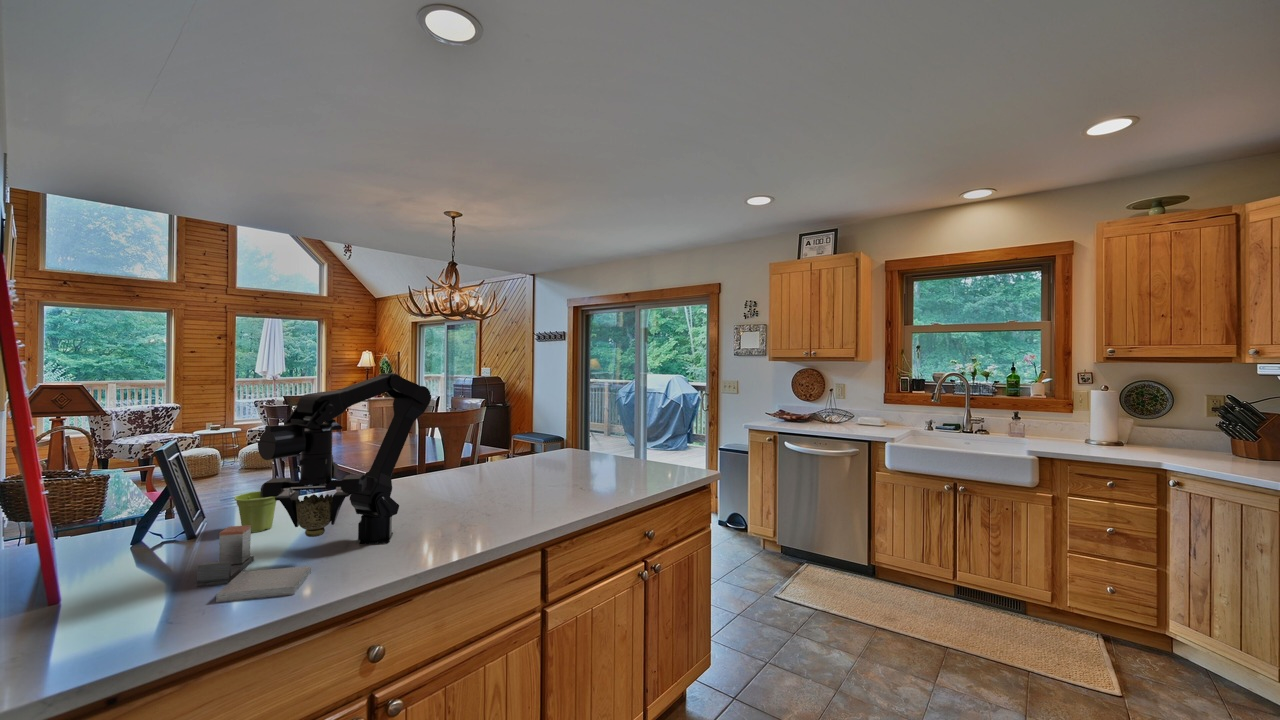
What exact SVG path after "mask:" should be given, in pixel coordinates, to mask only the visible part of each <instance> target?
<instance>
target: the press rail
mask: <svg viewBox="0 0 1280 720" xmlns="http://www.w3.org/2000/svg"><path fill="white" fill-rule="evenodd" d="M253 562H255V556H254V555H250V557H249V558H248V559H246V560H245V561H244V562H243V563H239V564H231V561H223V562H219V561H214V562H212V561H211V562H200V563H198V564H197V565H196V566H197V567H196V571H197V572H196V574H197V575H196V587H204V586H205V587H206V586H216V585H227V584H228V583H229V582H230V581H231V580H233V579H234V578H235V577H236V576H237V575H238V574H239V573H240V572H244V570H245V569H246V568H247V567H248V566H250V565H251V564H252V563H253Z"/></svg>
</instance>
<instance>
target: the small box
mask: <svg viewBox="0 0 1280 720" xmlns="http://www.w3.org/2000/svg"><path fill="white" fill-rule="evenodd" d="M251 534H252V533H251V525H247V526H242V525H235V526H234V525H233V526H227V527H226V528H224V529H223V530H221V531H220V532H219V535H218V536H219V538H218V539H219V543H218V544H219V545H218V562H223V561H231V564H239V563H243V562H244V561H245V560H246V559H248V558H249V557H250V556H251V539H252V538H251Z"/></svg>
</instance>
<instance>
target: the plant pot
mask: <svg viewBox="0 0 1280 720" xmlns="http://www.w3.org/2000/svg"><path fill="white" fill-rule="evenodd" d="M260 494H261V490H258V491H252V492H246V493H240V494H239V495H236V496H235V497H234V498H233V499H234V501H236V505H237V507H238V511H239V518H240V523H241V525H240V526H247V525H251V534H253V533H259V532H263V531H264V530H270V529H271V528H272V527H273V523H274V517H275V510H276V505H277V501H276V500H275V497H260Z"/></svg>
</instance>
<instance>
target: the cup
mask: <svg viewBox="0 0 1280 720" xmlns="http://www.w3.org/2000/svg"><path fill="white" fill-rule="evenodd" d="M332 501H333V494H326V495H324V494H323V493H322V494H320V495H319V496H318V495H317V494H315V493H314V494H312V495H310V496H308V495H304V496H303V500H300V499H299V498H298V499H297V501H296V500H295V505H296V514H297V520H298V524H299V527H300V528H302V530H303V529H304V530H305V532H304V535H305V536H306V537H308V538H316V537H320V536H322V535H324V534H325V531H326V528H325V527H327V526H328V525H330V524H331V512H332Z"/></svg>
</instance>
